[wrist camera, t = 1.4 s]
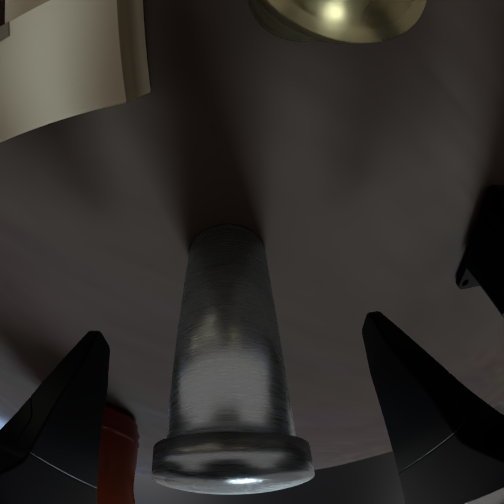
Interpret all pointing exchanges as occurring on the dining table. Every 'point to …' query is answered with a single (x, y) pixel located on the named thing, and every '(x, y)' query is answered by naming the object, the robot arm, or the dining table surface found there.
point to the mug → (117, 458)
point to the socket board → (68, 60)
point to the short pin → (337, 19)
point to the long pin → (229, 378)
